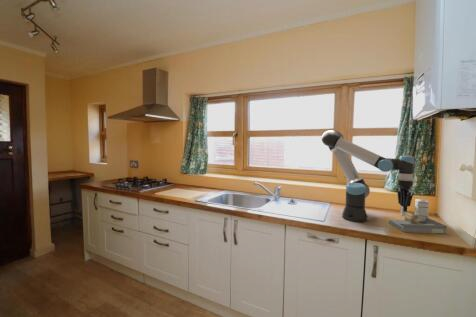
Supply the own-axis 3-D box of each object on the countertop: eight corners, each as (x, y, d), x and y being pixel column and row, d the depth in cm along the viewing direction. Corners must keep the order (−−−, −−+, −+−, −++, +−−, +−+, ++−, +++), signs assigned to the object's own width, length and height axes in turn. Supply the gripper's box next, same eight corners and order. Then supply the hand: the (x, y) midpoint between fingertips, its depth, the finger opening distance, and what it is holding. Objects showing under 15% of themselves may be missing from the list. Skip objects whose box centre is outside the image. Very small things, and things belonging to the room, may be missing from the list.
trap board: (403, 232, 127) (404, 224, 127) (388, 223, 141) (388, 216, 141) (445, 233, 126) (446, 225, 126) (426, 224, 140) (426, 217, 140)
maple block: (410, 223, 135) (410, 215, 134) (404, 220, 140) (405, 212, 139) (418, 223, 134) (419, 215, 134) (412, 220, 139) (413, 212, 139)
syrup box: (428, 224, 140) (429, 201, 139) (416, 223, 143) (418, 200, 142) (424, 221, 145) (426, 199, 145) (413, 220, 148) (415, 198, 147)
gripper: (419, 181, 136) (416, 219, 138) (404, 178, 149) (402, 212, 151) (406, 181, 137) (404, 219, 138) (393, 178, 150) (391, 212, 151)
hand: (403, 215), depth 145 cm, fingers closed
